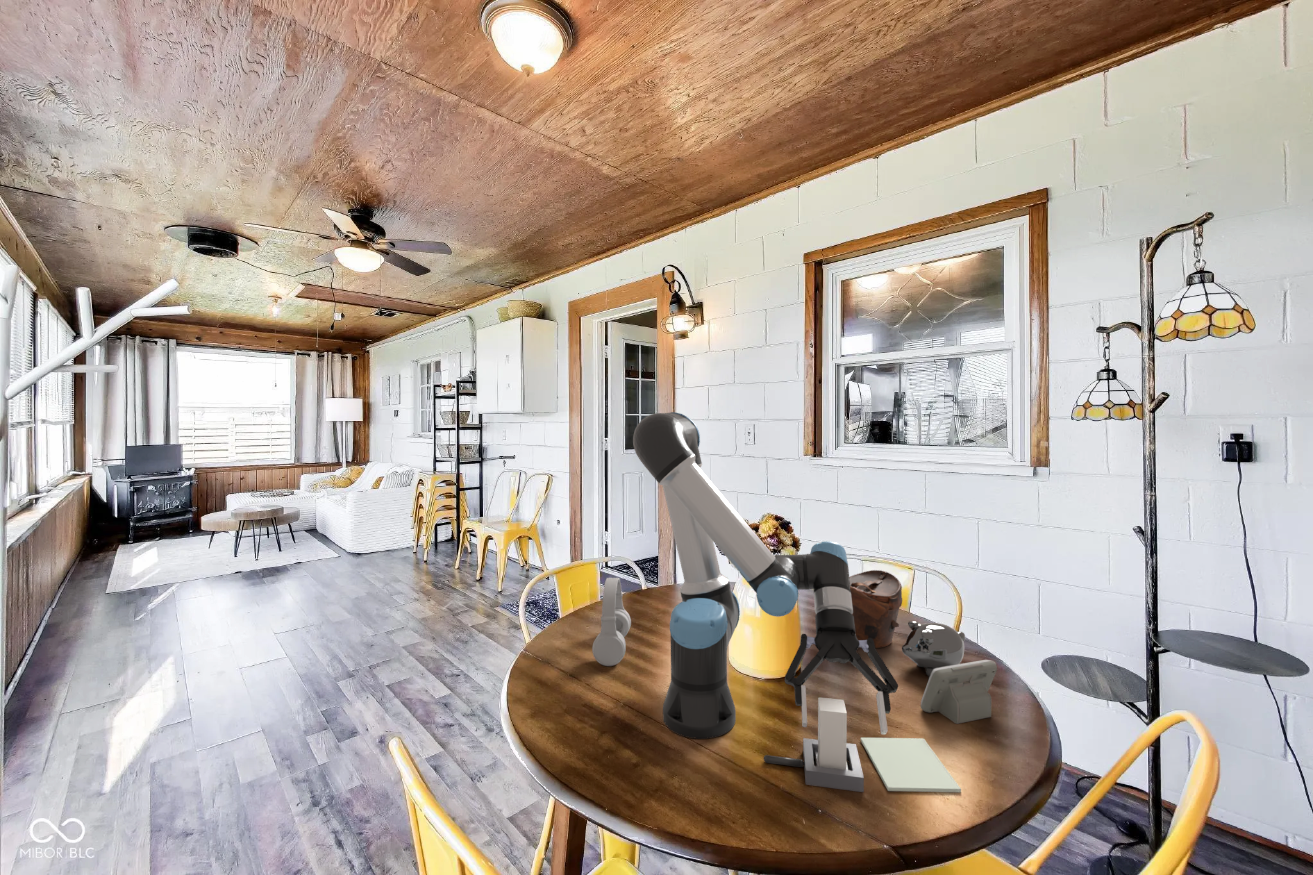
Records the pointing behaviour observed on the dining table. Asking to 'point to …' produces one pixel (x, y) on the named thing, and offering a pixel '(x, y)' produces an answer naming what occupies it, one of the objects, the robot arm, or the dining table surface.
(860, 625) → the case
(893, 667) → the dining table surface
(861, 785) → the socket block
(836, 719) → the plug
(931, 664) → the piggy bank
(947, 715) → the digital clock
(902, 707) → the dining table surface
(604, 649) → the headphones
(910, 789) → the mat
